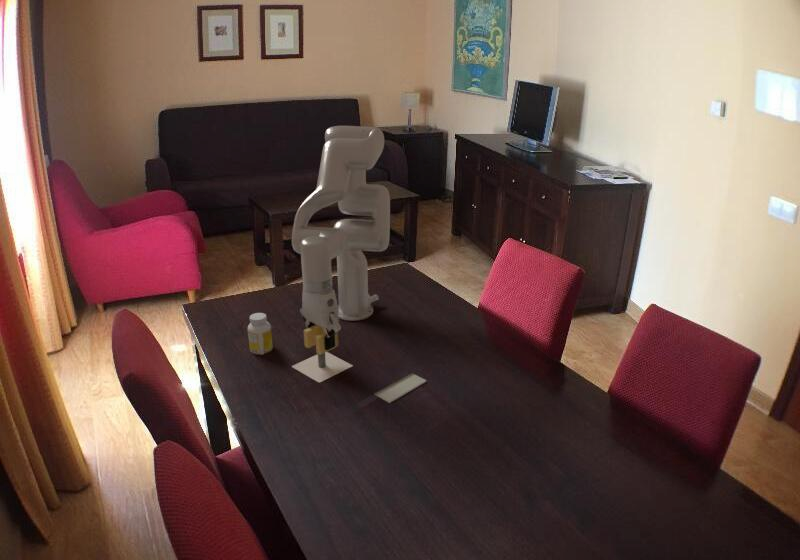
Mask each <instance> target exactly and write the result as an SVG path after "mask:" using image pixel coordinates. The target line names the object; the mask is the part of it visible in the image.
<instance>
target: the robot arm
mask: <svg viewBox="0 0 800 560" xmlns="http://www.w3.org/2000/svg"><path fill="white" fill-rule="evenodd" d="M324 141H325V143H324V144H323V147H322V153H321V159H320V165H319V171H318V176H317V181H316V182H317V183H316V188H315V190H314V191H313V192H312V193H311V194H309V195H308V196H307V197H306V198H305V199H304V201H302V203H301V205H299V207H298V209H297V211H296V214H295V216H294V219H293V220H294V221H293V227H292V234H291V246H292V248H293V251H294V252H296V253H297V254H299V255H300V263H301V274H302V294H301V295H302V296H301V297H302V300H301V303H302V304H301V305H302V307H300V308H299V312H300V314H301V316H302V319H303V321H304V323H305V324H304V325H305V328H310V327H312V326H314V325H318V326H321V327H323V329H324V332H325V335H326V337H324V342H325V350H329V349H331V348H333V347H335V335H336V333H337V332H338V333H339V331H340V330H341V329H342V326H341V324H340V320H343V321H348V322H350V321H351V322H352V321H353V322H354V321H355V322H356V321H363V320H366V319H368V318H369V317H371V316H372V315H373V314H374V307H373V305H371V304H372V303H374V302H376V301H379V298H380V297H379V296H378V295H379V294H373V295H370V294H369V285H368V283H369V281H368V280H369V279H368V275H369V273H368V261H367V258H366V255H365V253H363V251H365V252H366V251H367V252H383V251H385V250H387V248H388V247H389V243H390V235H391V234H390V233H391V232H390V229H391V227H390V226H391V221H390V220H391V198H390V197H391V196H390V192H389V189H388V188H387V187H386V186H384V185H381V184H371V183H369V184H368V183H367V181H366V180H367V179H366V178H367V176H366V175H367V173H366V172H367V171H369V170H371V169H373V168H374V166H375V165H376V163H377V161H378V160H379V158H380V157H381V155H382V153H383V151H384V147H385V135H384V133H383V130H382V129H380V128H379V127H377V126H376V127H375V126H362V125H361V126H357V125H335V126H330V127H328V128H327V129H326V130H325V133H324ZM336 203H337V205H338V209H339V211H340V212H341V213H342V214H344V215H348V216H349V215H351V216H364V217H366V216H367V217H368V216H369V217H372V218H373V219H371V220H370V219H359V218H358V219H357V218H344V219H343V218H342V219H340V220H338V221H336V223H334V225H333V226H332V227H323V226H308V223H309V221H310V219H311V218H312V216H314V214H315V213H317V212H319V211H320V210H321V209H323V208H326V207H328V206H331V205H332V204H336ZM335 258H336V268H337V290H338V291H337V292H338V300H337V297H336V293H335V290H334V289H333V275H332V274H333V273H332V260H333V259H335ZM328 327H330V328H331V331H328ZM335 348H336V347H335ZM333 349H334V348H333ZM331 350H332V349H331ZM329 351H330V350H329Z"/></svg>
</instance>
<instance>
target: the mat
mask: <svg viewBox="0 0 800 560" xmlns="http://www.w3.org/2000/svg"><path fill="white" fill-rule="evenodd" d="M425 383H427V379H424V378H422V377H420V376H419V375H417V374H415V373H413V372H409V373H408V374H406V375H405V376H402V377H400V378H399V379H397V380H395V381H394V382H392V383H390V384H388V385H386V386H385V387H383V388H381V389H379V390H377V391H376V392H374V393H373V395H374V396H376V397H378V398H379V399H380V400H383V401H385V402H387V403H388V404H391V403H392V402H394V401H396V400H398V399H400V398H401V397H403V396H404V395H406V394H408V393H411V391H413V390H415V389H416V388H418V387H420V386H422V385H423V384H425Z"/></svg>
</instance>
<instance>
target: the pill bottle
mask: <svg viewBox="0 0 800 560" xmlns="http://www.w3.org/2000/svg"><path fill="white" fill-rule="evenodd" d="M267 320H268V318H267V314H266V313H263V312H256V313H252V314H250V316H249V322H250V323H249V324H248V326H247V335H248V337H247V338H248V344H249V345H248V346H249V351H250V353H249V354H250V355H251V354H253V355H257V356H261V355H262V356H263V355H267V354H270V353H271V352H273V349H274V347H273V337H272V326H271V323H269V321H267Z"/></svg>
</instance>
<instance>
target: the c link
mask: <svg viewBox="0 0 800 560" xmlns="http://www.w3.org/2000/svg"><path fill="white" fill-rule="evenodd" d="M328 331H331V328H330V327H328ZM324 337H326V335H325V332H324V329H323V327H321V326H318V325H314V326H312V327H310V328H308V327H306V328H305V329H304V330H303V341H304V342H303V343H304V347H305V348H306V349H311V347H314V346H315V351H316V354H319V355H321V354H323V353H325V352H329V351H331V350H333V349H336V348H337V347H339V331H338V332H337V333H336V335H335V347H333V348H331V349H329V350H325V342H324Z"/></svg>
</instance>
